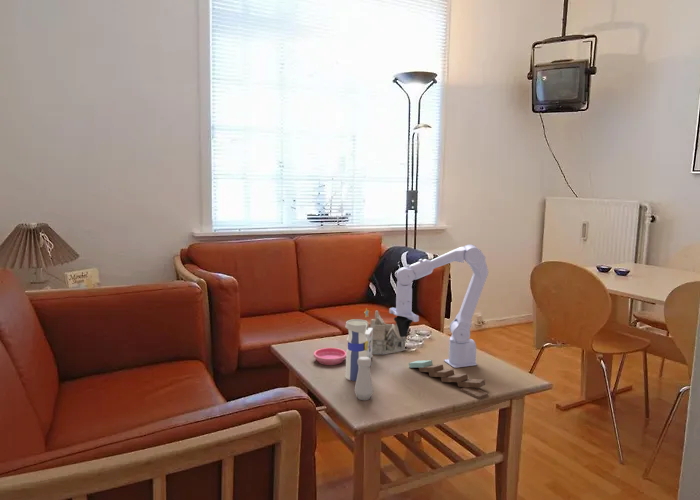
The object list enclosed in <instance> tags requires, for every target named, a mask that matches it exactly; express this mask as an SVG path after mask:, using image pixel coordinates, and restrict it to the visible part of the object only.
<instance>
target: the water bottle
mask: <svg viewBox="0 0 700 500" xmlns="http://www.w3.org/2000/svg"><path fill="white" fill-rule="evenodd" d="M369 313H370V310H368V308H367V307H366V308H365V311H364V312H363V314H365V316H364V317H365V319H366V318H369ZM365 319H358V318H357V319H356V318H355V319H349V320H346V322H345V326H344V327H345V329H347V331H348V336H347V337H346V341H347V349H346V352H347V353H346V358H345V379H347V380H349V381H351V380H352V382H356V380H357V374H358V369H359V366H358V364H357V360H358V358H360V357H367V349H368V341H367V338H366V335H365V332H366V329H367V330H368V328H369V327H370V324H369V322H368V321H367V320H365Z"/></svg>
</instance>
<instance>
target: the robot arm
mask: <svg viewBox="0 0 700 500" xmlns="http://www.w3.org/2000/svg"><path fill="white" fill-rule="evenodd" d="M454 262H457V263H464V262H466V263H467V264H468V265H469V267H470V269H471V271H472V274H471V275H472V276H471V279H470V281H469V284H468V286H467V288H466V293H465V294H464V297H463V300H462V303H461V306H460V309H459V311H458V313H457V314H456V315H455V318H454V320H452V321H451V322H450V324H449V331H450V332H451V335H450V337H449V343H448V345H449V347H448V358H446V359H443V361H444V363H446V364H448V365H449V366H451V367H453V368H454V369H457V368H466V367H472V366H477V345H476V342H475V340H474V339H472V338H470V337H471V328H472V319H473V316H474V313H475V311H476V307H477V305H478V303H479V299H480V297H481V294H482V291H483V289H484V285H485V284H486V281H487V279H488V278H487V277H488V276H489V269H488V266H487V261H486V256H485V254H484V253H483V252H482V250H480V249H479V248H478V247H477V246H476V245H474V244H471V243H469V244H466V245H464V246H460V247H457V248H454V249H452V250H450V251H448V252H446V253H443V254H441V255H439V256H437V257H435V258H433V259H428V258H424V259H423V258H420V259H418V261H417V262H414V263H412V264H406V266H403V267H399V269H398V270H397V272H396V274H395V275H396V277H395V278H396V280H397V281H396V291H395V294H396V295H395V296H396V297H395V307H390V308H388V309H389V310H388V313H389V314H392V315H393V316H394V319H393V320H394V322H395V325H396V324H397V326H398V330H399V334H400V336H401V337H405V336H406V337H407V336H408V331H409V328H410V326H411V324H412V323H417V322H419V321H420V316H419V315H418V314H415V313H414V312H413V311H412V310H413V309H412V308H413V306H412V305H413V303H412V302H413V288H412V284H413V281H414V280H415V281H416V280H419V279H421V278H423V277H425V276H429V275H431V274H432V273H433V271H434V269H437V268H439V267H442V266H445V265H448V264H450V263H454Z"/></svg>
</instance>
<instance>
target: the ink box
mask: <svg viewBox="0 0 700 500" xmlns="http://www.w3.org/2000/svg"><path fill="white" fill-rule="evenodd" d="M365 335H366V338H367V341H368V349H367V357H369V358H370V359H371V360H372V357H373V354H372V344H373V328H368V330H367V329H366V332H365Z"/></svg>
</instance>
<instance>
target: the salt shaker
mask: <svg viewBox="0 0 700 500" xmlns="http://www.w3.org/2000/svg"><path fill="white" fill-rule="evenodd" d="M357 364H358V366H359V369H358V374H357V380H356V381H355V386H354V393H355V395H356V398H357V399H358V400H359V401H368V400H370V399H371V397H372V395H373V394H374V388H373V381H372V376H371V369H370V366H371V365H372V358H371V359H370V358H369V357H360V358H358V360H357Z"/></svg>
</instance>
